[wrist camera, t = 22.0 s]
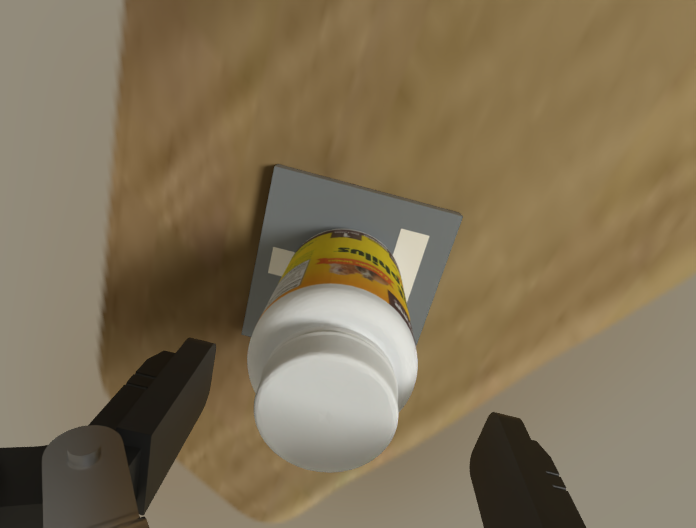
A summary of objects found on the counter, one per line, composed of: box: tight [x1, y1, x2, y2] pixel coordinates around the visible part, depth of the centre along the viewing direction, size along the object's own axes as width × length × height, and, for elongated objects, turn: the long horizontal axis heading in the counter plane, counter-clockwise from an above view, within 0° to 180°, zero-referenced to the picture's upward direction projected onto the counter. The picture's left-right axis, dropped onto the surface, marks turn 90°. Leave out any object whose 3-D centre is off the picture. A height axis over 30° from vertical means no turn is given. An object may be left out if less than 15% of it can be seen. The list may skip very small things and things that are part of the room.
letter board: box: [241, 164, 463, 345], centre depth 21 cm, size 9×9×1 cm
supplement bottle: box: [247, 229, 418, 472], centre depth 16 cm, size 6×6×10 cm
